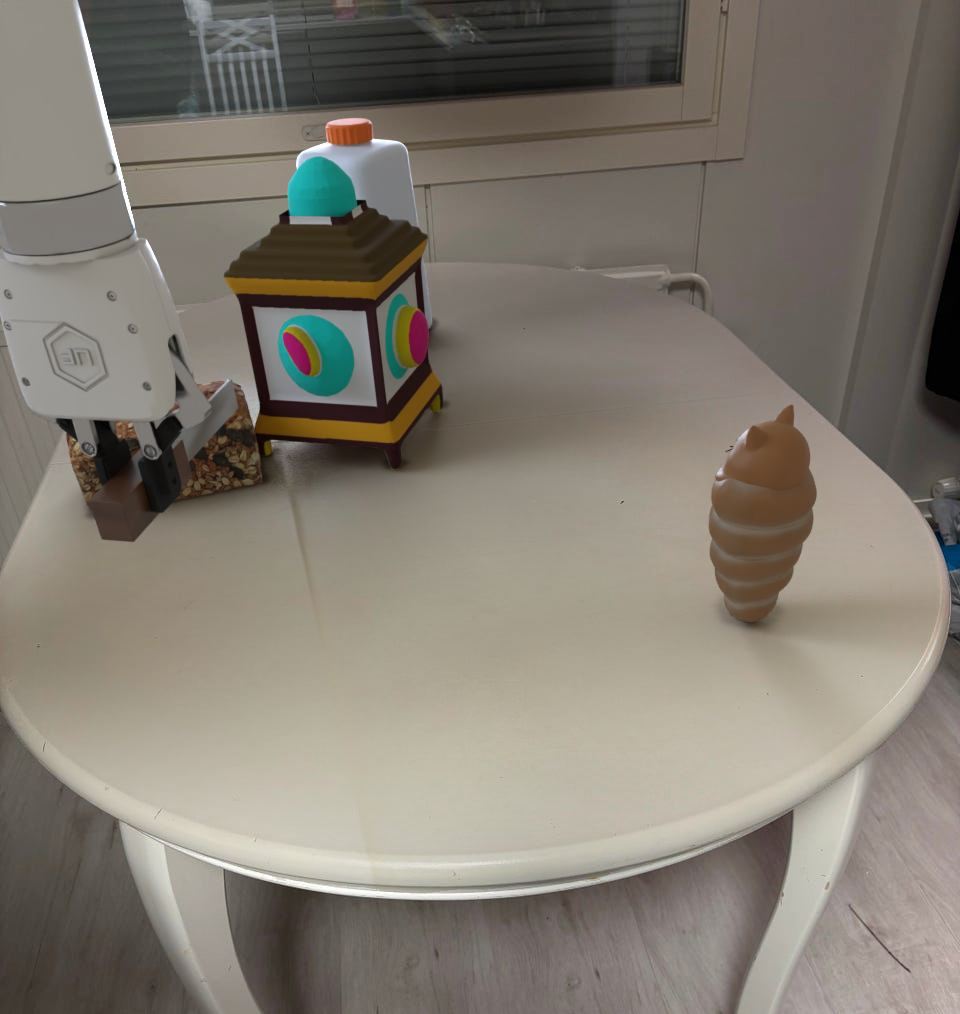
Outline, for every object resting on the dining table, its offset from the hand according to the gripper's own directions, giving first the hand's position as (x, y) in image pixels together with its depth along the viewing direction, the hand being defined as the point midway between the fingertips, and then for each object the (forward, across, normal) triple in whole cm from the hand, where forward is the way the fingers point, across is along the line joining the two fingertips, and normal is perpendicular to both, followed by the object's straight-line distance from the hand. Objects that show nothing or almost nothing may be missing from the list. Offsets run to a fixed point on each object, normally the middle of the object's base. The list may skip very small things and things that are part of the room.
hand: (146, 500), depth 66 cm
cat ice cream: (+17, +43, +16) cm, 49 cm away
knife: (0, 0, +6) cm, 6 cm away
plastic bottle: (+17, -10, +80) cm, 83 cm away
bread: (+17, -18, +32) cm, 41 cm away
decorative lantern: (+17, -2, +47) cm, 50 cm away
